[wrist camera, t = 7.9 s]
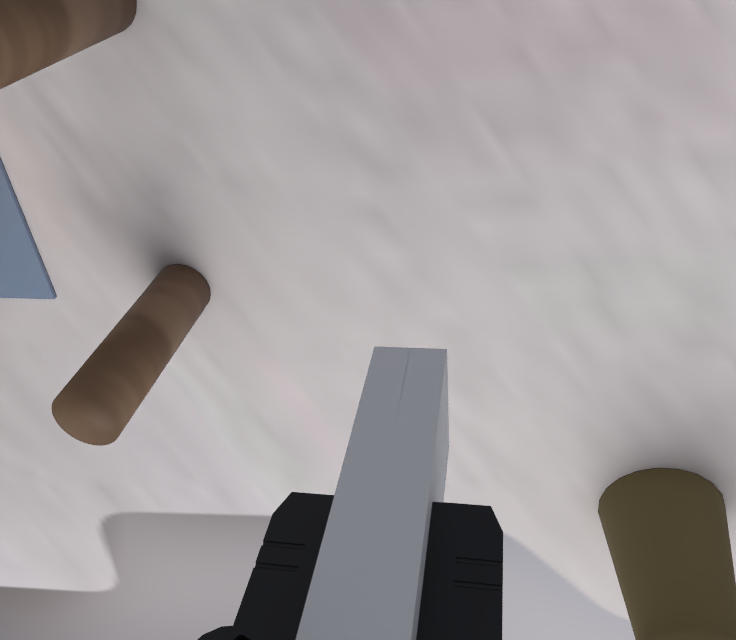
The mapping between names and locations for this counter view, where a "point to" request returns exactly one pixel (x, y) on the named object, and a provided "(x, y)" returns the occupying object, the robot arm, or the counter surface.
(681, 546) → the cork
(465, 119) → the counter surface
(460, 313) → the counter surface
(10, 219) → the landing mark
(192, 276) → the post
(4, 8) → the post
